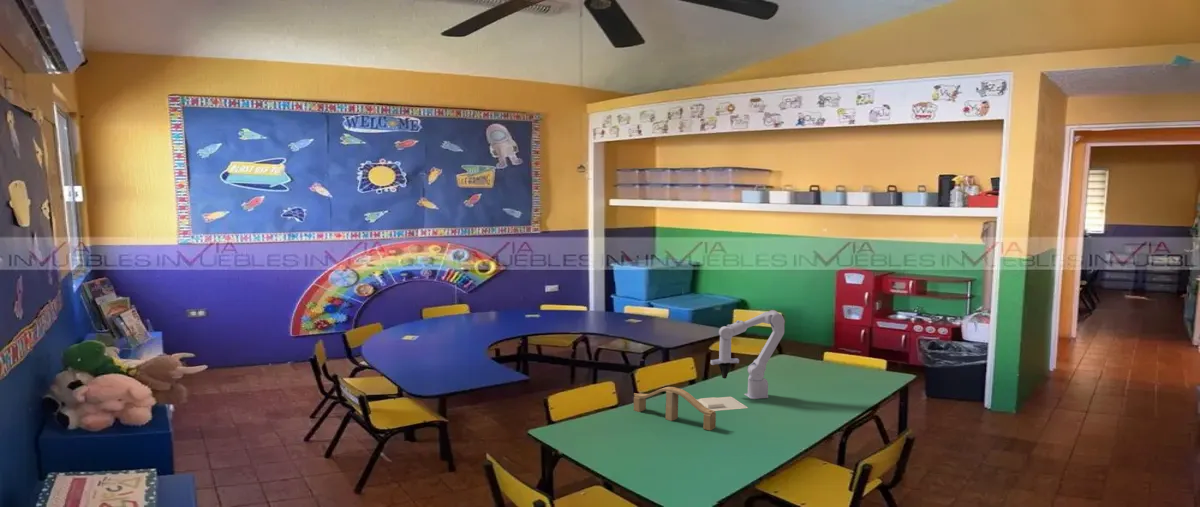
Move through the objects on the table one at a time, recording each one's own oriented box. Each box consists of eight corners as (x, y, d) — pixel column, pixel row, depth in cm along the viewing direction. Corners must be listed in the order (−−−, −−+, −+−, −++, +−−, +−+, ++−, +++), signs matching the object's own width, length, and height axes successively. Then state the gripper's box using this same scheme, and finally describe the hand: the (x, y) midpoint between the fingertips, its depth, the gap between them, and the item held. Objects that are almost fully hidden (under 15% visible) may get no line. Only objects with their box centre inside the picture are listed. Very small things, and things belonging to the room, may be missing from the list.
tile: (714, 397, 344) (699, 398, 342) (723, 403, 335) (708, 404, 333) (714, 400, 345) (699, 401, 342) (723, 407, 335) (708, 408, 333)
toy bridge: (716, 428, 308) (717, 396, 306) (709, 432, 303) (710, 399, 302) (637, 407, 335) (638, 377, 333) (630, 410, 330) (630, 380, 329)
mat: (731, 397, 351) (731, 396, 351) (748, 408, 334) (748, 407, 334) (689, 400, 345) (689, 399, 345) (705, 412, 328) (705, 411, 328)
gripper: (734, 348, 356) (733, 374, 357) (708, 349, 352) (707, 376, 353) (741, 351, 349) (740, 378, 351) (714, 353, 345) (713, 380, 347)
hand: (724, 377), depth 352 cm, fingers closed
